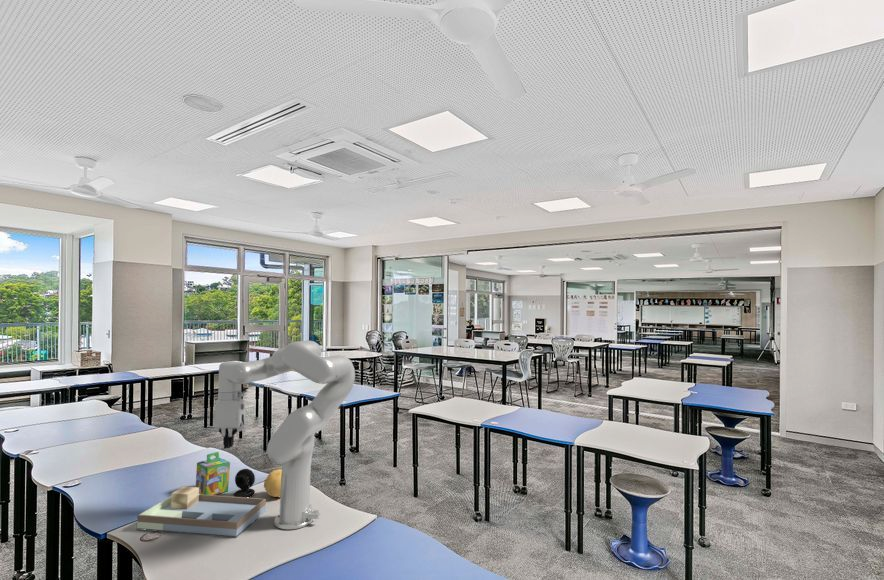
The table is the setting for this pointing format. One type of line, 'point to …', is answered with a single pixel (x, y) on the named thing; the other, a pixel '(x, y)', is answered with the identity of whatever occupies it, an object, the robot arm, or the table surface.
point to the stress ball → (273, 483)
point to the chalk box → (212, 475)
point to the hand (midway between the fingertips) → (228, 447)
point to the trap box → (204, 516)
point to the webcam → (244, 483)
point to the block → (184, 497)
